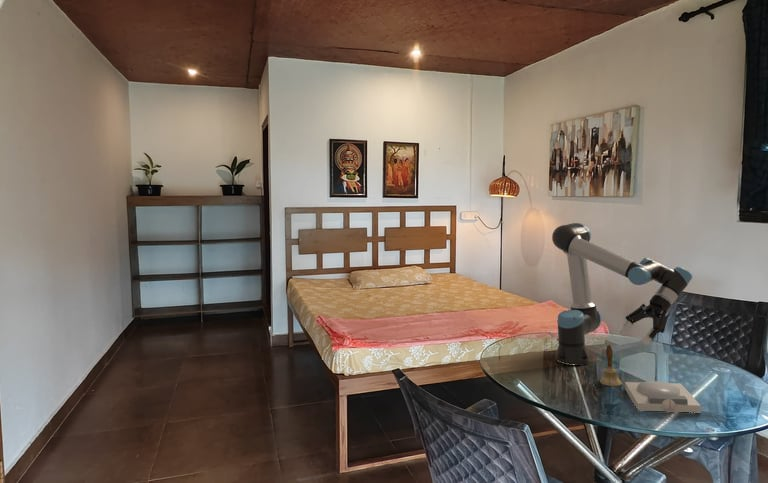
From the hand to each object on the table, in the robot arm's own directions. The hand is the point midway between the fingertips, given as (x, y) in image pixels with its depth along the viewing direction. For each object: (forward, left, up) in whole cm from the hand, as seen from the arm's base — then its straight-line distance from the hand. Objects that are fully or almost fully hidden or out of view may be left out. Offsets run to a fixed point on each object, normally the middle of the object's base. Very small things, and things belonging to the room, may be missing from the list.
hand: (632, 338), depth 201 cm
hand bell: (-10, -5, -18) cm, 21 cm away
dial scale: (+4, -22, -17) cm, 28 cm away
